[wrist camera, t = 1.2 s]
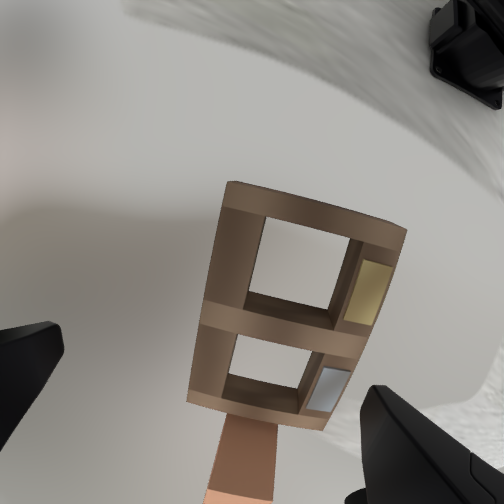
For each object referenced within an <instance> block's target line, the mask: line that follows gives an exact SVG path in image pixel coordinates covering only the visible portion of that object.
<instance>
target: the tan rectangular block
mask: <svg viewBox="0 0 504 504" xmlns="http://www.w3.org/2000/svg"><path fill="white" fill-rule="evenodd" d="M277 431H278V424H275V423H270V422H265V421H260V420H255V419H251V418H246V417H242V416H238V415H233V414H229V413H227V415H226V419H225V423H224V426H223V430H222V434H221V437H220V441H219V445H218V449H217V453H216V456H215V460H214V464H213V468H212V472H211V475H210V479H209V483H208V486H207V490H206V494H205V498H204V501H203V504H271V503H272V502H273V491H274V478H275V464H276V449H277Z"/></svg>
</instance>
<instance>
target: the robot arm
mask: <svg viewBox="0 0 504 504" xmlns="http://www.w3.org/2000/svg"><path fill="white" fill-rule="evenodd" d="M429 45H430V48H431V49H432V51H431V65H430V71H431V73H432V74H433V76H435V77H436V78H439V79H441V80H443V81H445V82H447V83H449V84H451V85H452V86H454V87H456V88H458V89H460V90H462V91H464V92H465V93H467V94H469V95H471V96H473V97H474V98H476V99H478V100H479V101H481V102H483V103H484V104H486V105H488V106H489V107H491V108H493V109H494V110H499V109H501V108H502V91H504V0H450V1H449V2H448V3H447V4H446V5H445V6H444V7H443V8H442V9H441V8H435V9H434V10H433V18H432V19H431V20H430V37H429ZM436 68H437V69H438V70H439V73H438V72H437V71H436ZM495 102H496V103H497V105H496V104H495ZM63 353H64V343H63V338H62V332H61V328H60V326H59V325H58V324H56V323H53V322H51V321H46V322H41V323H35V324H31V325H25V326H20V327H16V328H10V329H4V330H0V451H1V450H2V448H3V447H4V445H5V444H6V442H7V440H8V439H9V437H10V436H11V434H12V433H13V431H14V430H15V428H16V427H17V425H18V424H19V422H20V421H21V419H22V418H23V416H24V415H25V413H26V412H27V411H28V409H29V408H30V406H31V405H32V403H33V402H34V401H35V399H36V398H37V396H38V395H39V394H40V392H41V391H42V389H43V388H44V386H45V384H46V382H47V380H48V379H49V377H50V376H51V374H52V372H53V370H54V369H55V367H56V365H57V364H58V362H59V360H60V359H61V357H62V356H63ZM360 427H361V451H362V464H363V472H364V478H365V485H366V492H367V500H368V504H504V474H503V473H501V472H500V471H498V470H497V469H495V468H493V467H492V466H491V465H489V464H488V463H486V462H485V461H484V460H482V459H481V458H479V457H478V456H477V455H475V454H474V453H473V452H471V453H470V450H469V449H467V448H466V447H465V446H463V445H462V444H461V443H459V442H458V441H457V440H455V439H454V438H453V437H452V436H450V435H449V434H448V433H446V432H445V431H444V430H442V429H441V428H440V427H438V426H437V425H436V424H435V423H433V422H432V421H431V420H429V419H428V418H427V417H425V416H424V415H423V414H422V413H420V412H419V411H418V410H416V409H415V408H414V407H413V406H411V405H410V404H409V403H407V402H406V401H405V400H403V399H402V398H401V397H400V396H398V395H397V394H396V393H395V392H393V391H392V390H391V389H390V388H388V387H387V386H385V385H372V386H371V387H370V388H369V390H368V392H367V395H366V397H365V399H364V402H363V404H362V406H361V410H360Z"/></svg>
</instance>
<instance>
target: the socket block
mask: <svg viewBox="0 0 504 504" xmlns="http://www.w3.org/2000/svg"><path fill="white" fill-rule="evenodd" d="M266 216H267V217H271V218H275V219H279V220H283V221H287V222H291V223H295V224H299V225H303V226H307V227H311V228H314V229H318V230H322V231H326V232H330V233H333V234H337V235H341V236H345V237H348V238H350V240H349V244H348V247H347V251H346V254H345V257H344V260H343V264H342V267H341V270H340V273H339V277H338V279H337V283H336V286H335V289H334V292H333V295H332V298H331V301H330V304H329V307H328V309H322V308H318V307H313V306H309V305H305V304H300V303H296V302H292V301H288V300H283V299H279V298H275V297H271V296H267V295H263V294H259V293H255V292H250V291H249V287H250V283H251V278H252V274H253V270H254V266H255V262H256V257H257V253H258V249H259V245H260V241H261V237H262V232H263V228H264V224H265V220H266ZM406 233H407V229H405V228H403V227H401V226H398V225H396V224H394V223H392V222H389V221H386V220H383V219H380V218H376V217H373V216H370V215H366V214H363V213H360V212H356V211H353V210H349V209H345V208H342V207H339V206H335V205H331V204H328V203H324V202H320V201H317V200H313V199H309V198H305V197H301V196H297V195H293V194H289V193H286V192H281V191H277V190H273V189H269V188H265V187H261V186H256V185H252V184H247V183H243V182H239V181H228V182H227V184H226V189H225V193H224V198H223V203H222V207H221V212H220V217H219V221H218V226H217V231H216V236H215V241H214V246H213V252H212V256H211V262H210V266H209V271H208V277H207V282H206V288H205V293H204V298H203V304H202V309H201V315H200V320H199V326H198V333H197V338H196V344H195V350H194V356H193V363H192V368H191V375H190V381H189V388H188V394H187V401H186V402H189V403H193V404H196V405H199V406H203V407H206V408H210V409H214V410H218V411H221V412H226V413H229V414H233V415H238V416H242V417H246V418H251V419H255V420H260V421H265V422H270V423H275V424H281V425H287V426H293V427H299V428H305V429H312V430H320V431H323V429H324V427H325V426H326V424H327V422H328V420H329V418H330V417H331V415H332V413H333V411H334V409H335V407H336V406H337V404H338V402H339V400H340V398H341V396H342V394H343V392H344V390H345V388H346V387H347V384H348V382H349V381H350V378H351V376H352V374H353V372H354V370H355V368H356V365H357V363H358V361H359V359H360V357H361V355H362V352H363V350H364V348H365V346H366V343H367V341H368V339H369V336H370V334H371V332H372V329H373V327H374V324H375V322H376V320H377V318H378V315H379V312H380V310H381V307H382V305H383V302H384V299H385V297H386V294H387V291H388V289H389V286H390V283H391V280H392V277H393V275H394V271H395V268H396V265H397V262H398V259H399V256H400V253H401V249H402V246H403V243H404V240H405V236H406ZM238 334H240V335H245V336H249V337H252V338H257V339H261V340H265V341H269V342H274V343H278V344H283V345H287V346H292V347H296V348H301V349H306V350H310V351H312V353H311V356H310V358H309V361H308V364H307V366H306V369H305V371H304V374H303V376H302V379H301V381H300V383H299V386H298V388H297V389H296V388H291V387H286V386H281V385H276V384H271V383H267V382H262V381H257V380H254V379H249V378H245V377H241V376H237V375H233V374H229V373H228V372H229V368H230V364H231V360H232V356H233V352H234V348H235V344H236V340H237V336H238Z"/></svg>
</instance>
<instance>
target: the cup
mask: <svg viewBox="0 0 504 504" xmlns="http://www.w3.org/2000/svg"><path fill="white" fill-rule="evenodd" d="M345 504H368V500H367V492H366V488H363V489H360V490H357V491H355V492H353V493H351V494H350V495H348V496H347V497H346V499H345Z"/></svg>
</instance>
